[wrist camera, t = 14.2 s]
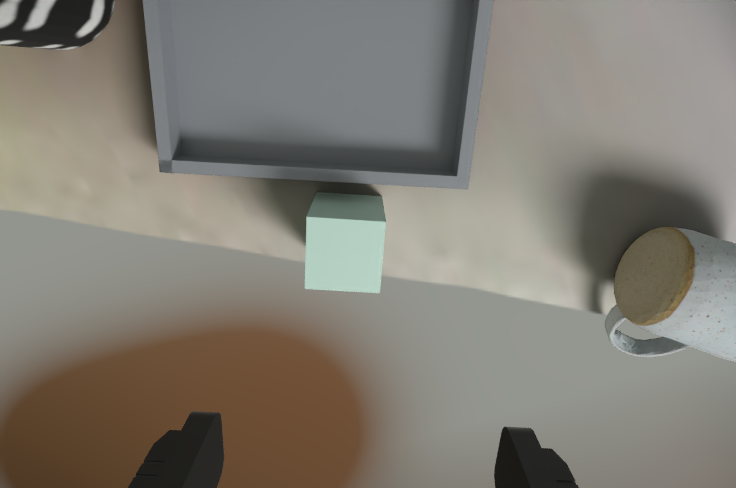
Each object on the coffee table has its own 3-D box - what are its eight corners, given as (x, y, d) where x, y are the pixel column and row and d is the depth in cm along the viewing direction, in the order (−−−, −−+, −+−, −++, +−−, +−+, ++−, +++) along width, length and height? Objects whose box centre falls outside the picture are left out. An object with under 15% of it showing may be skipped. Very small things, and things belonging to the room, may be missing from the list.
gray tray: (487, -27, 27) (498, -36, 25) (460, 181, 32) (467, 189, 29) (156, -49, 27) (136, -61, 24) (175, 165, 31) (159, 172, 29)
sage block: (381, 196, 32) (385, 221, 26) (376, 256, 34) (379, 293, 28) (316, 191, 32) (306, 216, 26) (314, 252, 34) (304, 288, 28)
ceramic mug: (638, 207, 32) (715, 246, 25) (739, 238, 33) (840, 285, 26) (572, 330, 36) (622, 395, 29) (664, 355, 37) (735, 425, 30)
